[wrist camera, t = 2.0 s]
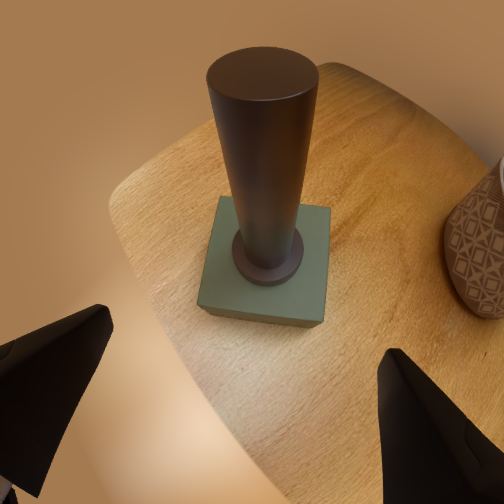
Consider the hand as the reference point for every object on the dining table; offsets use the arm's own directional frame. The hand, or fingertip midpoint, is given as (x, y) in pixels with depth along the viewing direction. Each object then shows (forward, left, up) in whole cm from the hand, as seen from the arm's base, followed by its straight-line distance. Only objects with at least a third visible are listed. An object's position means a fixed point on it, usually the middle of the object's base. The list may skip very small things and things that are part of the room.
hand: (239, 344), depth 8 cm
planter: (+18, -17, -13) cm, 28 cm away
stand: (+6, +2, -13) cm, 15 cm away
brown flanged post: (+6, +2, -9) cm, 11 cm away
